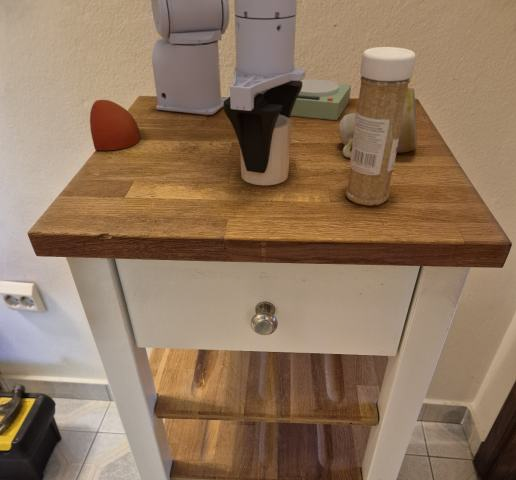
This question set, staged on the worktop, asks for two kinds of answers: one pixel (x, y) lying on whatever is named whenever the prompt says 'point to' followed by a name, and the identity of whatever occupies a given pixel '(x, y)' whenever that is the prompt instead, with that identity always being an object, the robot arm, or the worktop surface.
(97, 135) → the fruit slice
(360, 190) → the sprinkles bottle
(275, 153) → the white hollow cylinder
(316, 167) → the worktop surface
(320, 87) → the kitchen scale
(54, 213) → the worktop surface
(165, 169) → the worktop surface
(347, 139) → the mug
